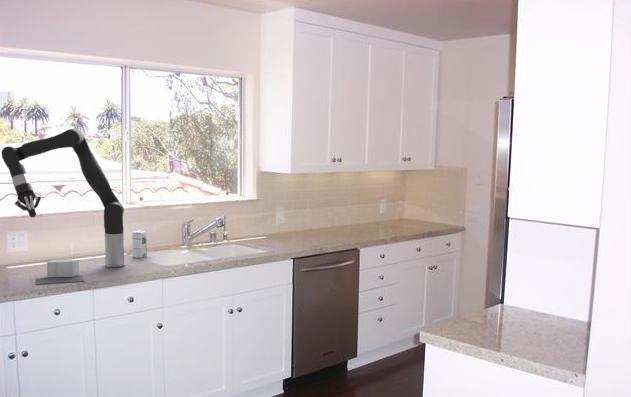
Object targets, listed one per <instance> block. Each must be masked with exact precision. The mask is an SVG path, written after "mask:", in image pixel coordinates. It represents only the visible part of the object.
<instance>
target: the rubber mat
mask: <svg viewBox="0 0 631 397" xmlns="http://www.w3.org/2000/svg"><path fill="white" fill-rule="evenodd" d="M70 283H84V275H80V274H79V275H76V276H74V277H47V276H46V277H37V278H36V281H35V286H41V285H53V284H56V285H57V284H70Z"/></svg>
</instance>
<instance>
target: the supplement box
mask: <svg viewBox="0 0 631 397" xmlns="http://www.w3.org/2000/svg"><path fill="white" fill-rule="evenodd" d="M78 275H80V260H79V259H53V260H50V261H47V262H46V277H74V276H78Z"/></svg>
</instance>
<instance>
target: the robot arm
mask: <svg viewBox="0 0 631 397" xmlns="http://www.w3.org/2000/svg"><path fill="white" fill-rule="evenodd" d="M65 148H72V149H73V151H74V152H75V154H76V156H77V159H78V162H79V167H80V170H81V171H82V174H83V177H84V179H85V181H86V182H87V184H88V185H89V186H90V188H91V189H92V190H93V191H94V193H95V195H97V196H98V197H99V199H100V201H101V204H102V205H103V208H104V210H103V228H104V260H105V261H104V266H105V267H108V268H119V267H124V266H125V247H124V246H125V245H124V242H125V241H124V237H125V236H124V218H123V217H124V212H125V209H124V206H123V204H122V203H121V202H120V200H119V199H118V198H117V196H116V195H115V193H114V191H113V189H112V188H111V184H110V182H109V180H108V179H107V176H106V175H105V172H104V171H103V169H102V167H101V165H100V164H99V162H98V161H97V159H96V156H94V154H93V152H92V151H91V149H90V146H89V144H88V141H87V139H86V137H85V134H84V133H83V131H81V130H80V129H77V128H69V129H66V130H65V131H63V132H60V133H59V134H57V135H54V136H51V137H48V138H43V139H38V140H37V139H36V140H32V141H29V142H25V143H23V144H22V145H21V146H18V147H13V146H5V147H3V148H2V150H1V158H2V160H3V162H4V164H5V166H6V167H7V169H8V171H9V174H10V176H11V179H12V183H13V184H12V185H13V187H14V191H15V192H16V196H17V200H16V201H15V202H14V203H13V204H14V206H16V207H18V208H19V209H21V210H22V211H23V212H24V211H25V212H26V211H27V212H28V215H29V217H31V218H35V217H36V216H37V213H36V209H37V208H38V207H39V204H40V201H41V199H42V196H38V195H36V193H35V192H34V189H33V186H32V183H31V181H30V179H29V176H28V174H27V171H26V168H25V166H24V164H23V163H21V162H20V161H22V160H25V159H27V158H30V157H33V156H38V155H42V154H45V153H47V152H50V151H53V150H57V149H65ZM34 202H35V203H34Z"/></svg>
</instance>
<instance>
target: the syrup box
mask: <svg viewBox="0 0 631 397" xmlns="http://www.w3.org/2000/svg"><path fill="white" fill-rule="evenodd" d="M131 234H132V235H131V237H132V238H131V239H132V241H131V242H132V257H133V258H135V259H136V258H138V259H140V258H141V259H142V258H144V257H147V255H148V254H147V253H148V251H147V247H148V246H147V231H146V230H136V231H132V232H131Z"/></svg>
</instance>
